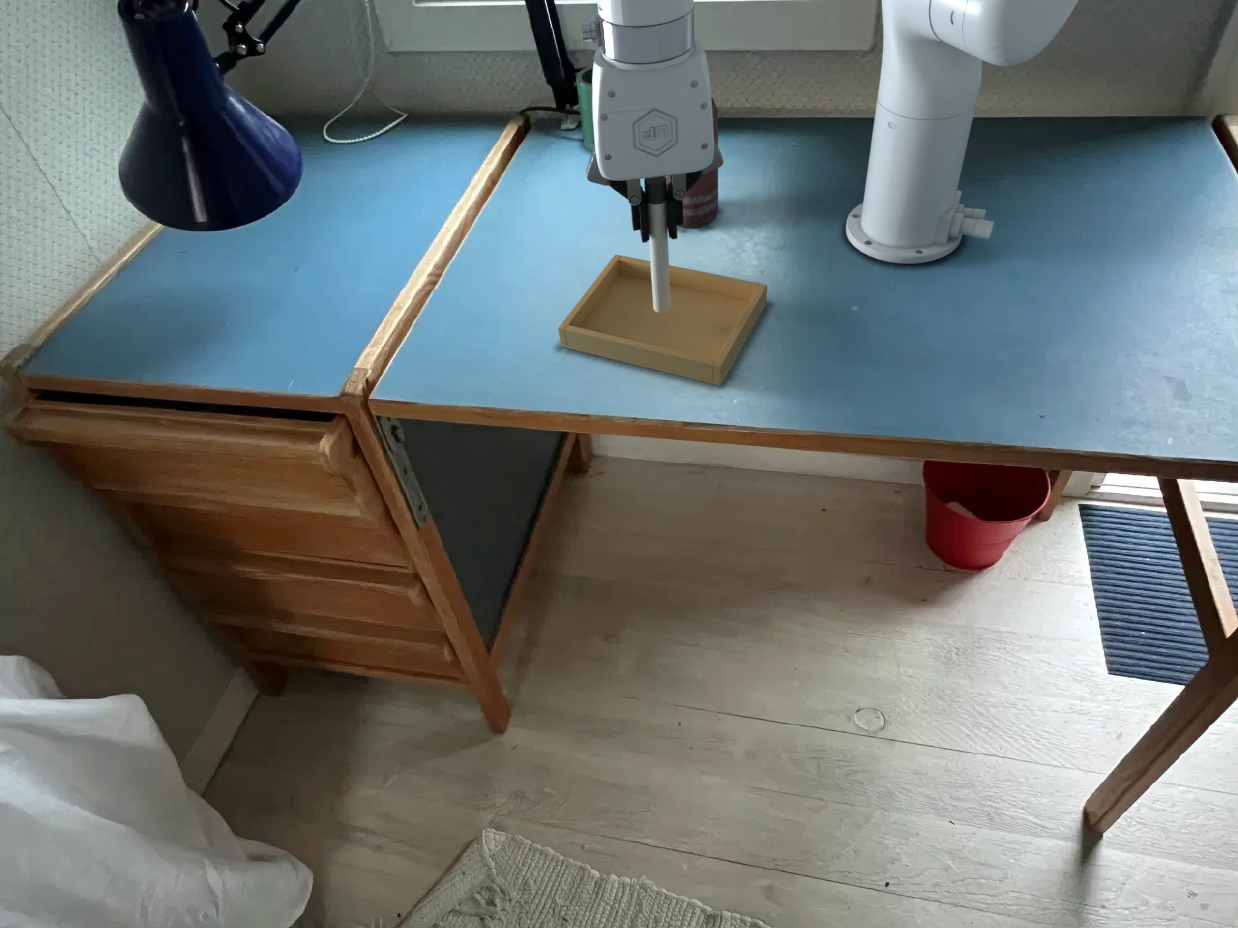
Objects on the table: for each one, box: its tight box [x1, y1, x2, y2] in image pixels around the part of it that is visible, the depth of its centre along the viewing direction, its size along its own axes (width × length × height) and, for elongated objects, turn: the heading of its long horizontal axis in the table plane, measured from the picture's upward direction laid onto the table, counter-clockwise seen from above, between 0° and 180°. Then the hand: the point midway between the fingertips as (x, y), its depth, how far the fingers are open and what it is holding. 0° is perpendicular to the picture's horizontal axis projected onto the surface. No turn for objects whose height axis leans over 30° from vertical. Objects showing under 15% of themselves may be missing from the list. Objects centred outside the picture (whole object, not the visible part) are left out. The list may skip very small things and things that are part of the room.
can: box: [665, 96, 719, 230], centre depth 100 cm, size 6×6×14 cm
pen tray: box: [557, 253, 768, 387], centre depth 90 cm, size 18×14×2 cm
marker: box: [643, 176, 671, 313], centre depth 84 cm, size 2×2×14 cm
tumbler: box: [575, 65, 595, 152], centre depth 116 cm, size 7×7×9 cm
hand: (658, 231), depth 83 cm, fingers closed on marker, 2 cm apart
